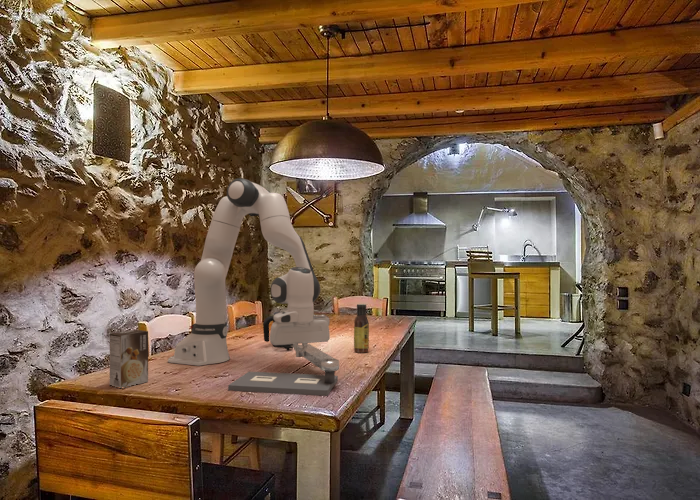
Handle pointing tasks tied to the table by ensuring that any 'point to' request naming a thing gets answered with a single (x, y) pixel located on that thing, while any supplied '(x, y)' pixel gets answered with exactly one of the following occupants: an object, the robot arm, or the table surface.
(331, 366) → the grey flat bar
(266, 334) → the milk frother
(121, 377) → the coffee box
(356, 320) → the sauce bottle
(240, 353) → the table surface
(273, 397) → the table surface
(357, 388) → the table surface
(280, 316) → the robot arm
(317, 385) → the label board
